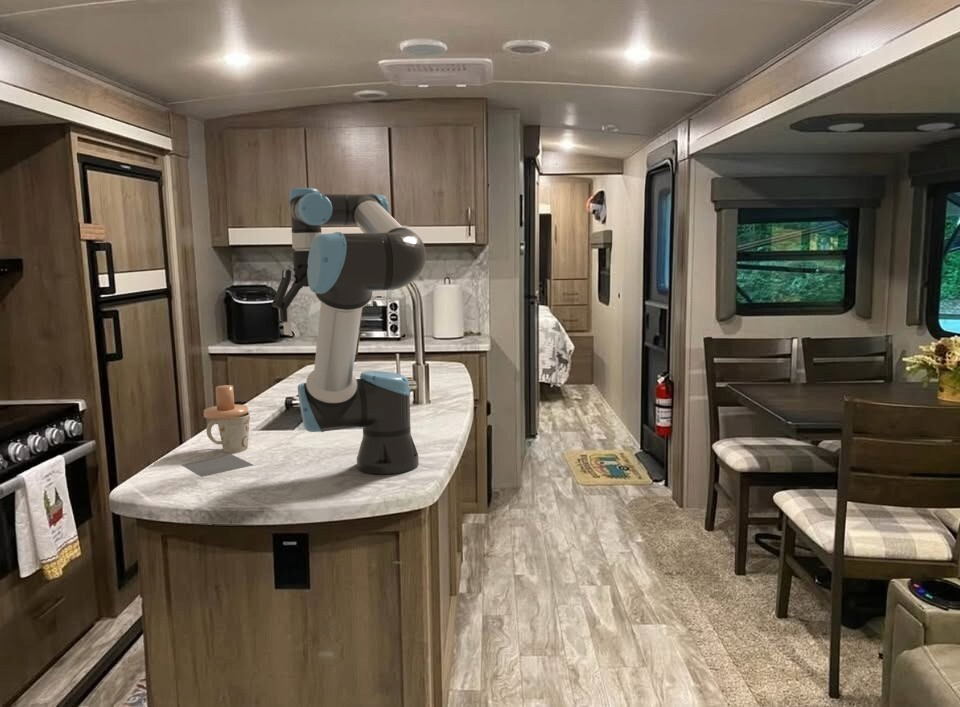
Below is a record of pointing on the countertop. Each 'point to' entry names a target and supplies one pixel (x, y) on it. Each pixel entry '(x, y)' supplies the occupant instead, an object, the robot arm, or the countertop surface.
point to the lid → (225, 405)
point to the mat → (216, 465)
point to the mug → (231, 433)
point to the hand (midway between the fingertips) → (311, 332)
